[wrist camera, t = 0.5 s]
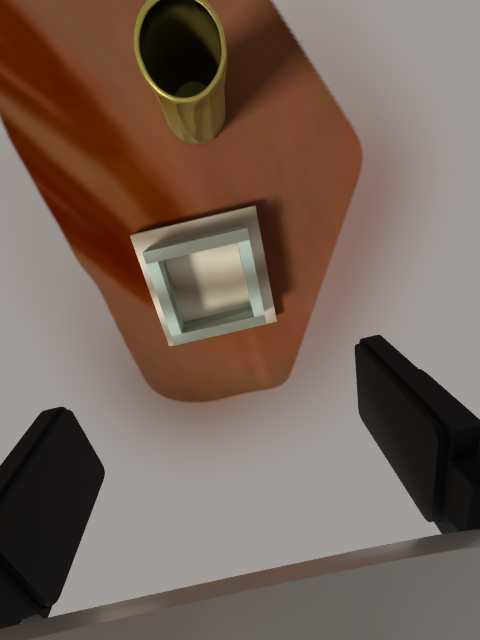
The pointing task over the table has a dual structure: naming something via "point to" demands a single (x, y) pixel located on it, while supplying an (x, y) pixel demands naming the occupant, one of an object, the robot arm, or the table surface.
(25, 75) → the table surface
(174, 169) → the table surface
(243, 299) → the vase stand
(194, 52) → the vase
